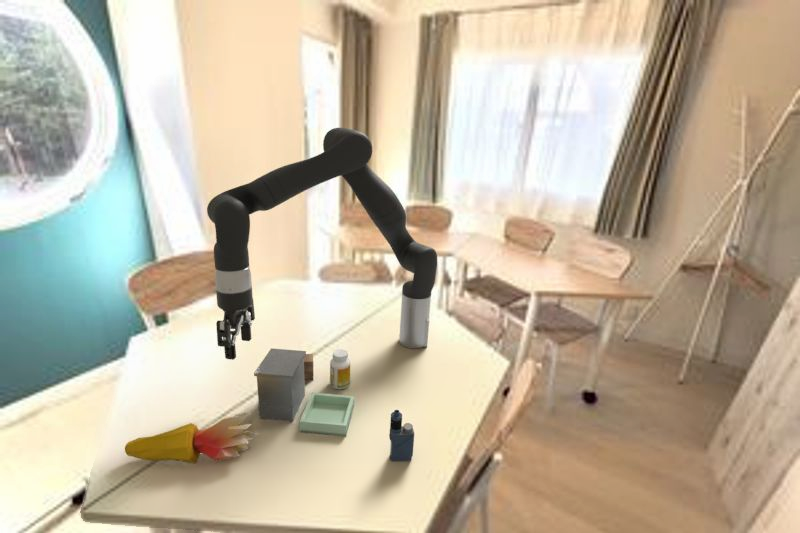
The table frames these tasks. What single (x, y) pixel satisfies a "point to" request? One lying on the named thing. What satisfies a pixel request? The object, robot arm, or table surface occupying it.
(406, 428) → the vaping device
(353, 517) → the table surface
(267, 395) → the box
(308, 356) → the walnut block
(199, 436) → the torch
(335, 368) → the supplement bottle
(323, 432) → the tray
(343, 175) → the robot arm
